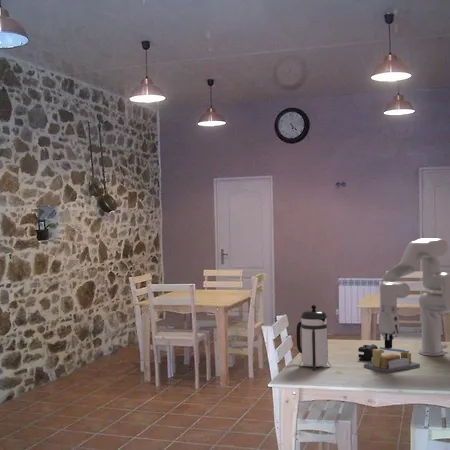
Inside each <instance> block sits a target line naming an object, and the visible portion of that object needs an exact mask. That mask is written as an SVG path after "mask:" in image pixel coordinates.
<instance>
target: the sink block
mask: <svg viewBox="0 0 450 450" xmlns="http://www.w3.org/2000/svg"><path fill="white" fill-rule="evenodd" d="M384 353H385V350H383V349H380V348H378V349H373V357H372V359H371V362H369V363H364V364H363V368H364V369H369V370H372V371H374V372H378V373H381V374H389V373H394V372H400V371H406V370H413V369H416V368H420V367H421V365H420V363H418V362H414V361H412V353H411V352H409V353H406V352H400V355H399V354H395V353H389V354H384Z"/></svg>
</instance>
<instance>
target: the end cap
mask: <svg viewBox="0 0 450 450" xmlns="http://www.w3.org/2000/svg"><path fill="white" fill-rule="evenodd" d="M373 349H379V348H378V345H376V344H370V345H369V344H364V345H362V346H359V347H358V358H359V359H358V360H359V361H361V362H363V361H365V362H368V361H370V360H372V357H373ZM359 352H360V353H361V354H360V353H359ZM362 353H363V354H362Z"/></svg>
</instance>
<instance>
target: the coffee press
mask: <svg viewBox="0 0 450 450" xmlns="http://www.w3.org/2000/svg"><path fill="white" fill-rule="evenodd" d="M300 319H301V320H300V321H299V322H298V323H297V325H296V348H297V350H298V352H299V353H300V354H301V361H300V363H299V367H300V368H302V367H303V366H306V367H312V371H316V369H317V367H323V366H326V368H331V363H330V362H329V361H328V358H329V356H328V355H329V351H328V350H329V348H328V347H329V345H328V322H327V321H328V320H327V319H328V315H327V313H326V311H324V310H321V309H317V306H316V304H312V305H311V309H307V310H304V311H302V313H301V315H300ZM301 364H303V365H301ZM327 364H328V365H329V366H328V365H327Z"/></svg>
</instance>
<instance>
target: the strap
mask: <svg viewBox="0 0 450 450" xmlns="http://www.w3.org/2000/svg"><path fill="white" fill-rule="evenodd" d="M379 349H380V350H384V351H390V352H391V351H392V352H398V353H401V352H406V353H410V351H409V350H406V349H398V348H393V347H392V348H389V349H388V348H385V346H384V347H382V346H379Z"/></svg>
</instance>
